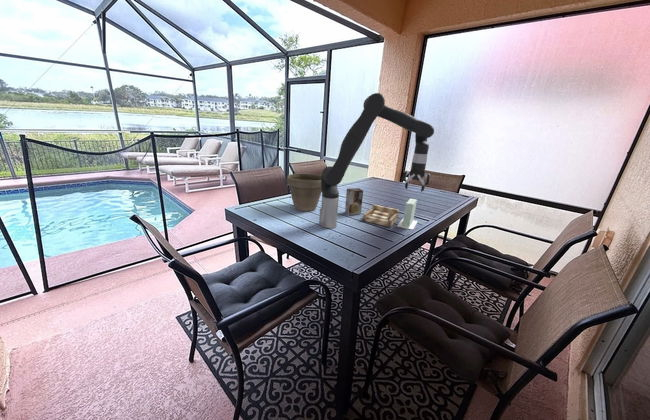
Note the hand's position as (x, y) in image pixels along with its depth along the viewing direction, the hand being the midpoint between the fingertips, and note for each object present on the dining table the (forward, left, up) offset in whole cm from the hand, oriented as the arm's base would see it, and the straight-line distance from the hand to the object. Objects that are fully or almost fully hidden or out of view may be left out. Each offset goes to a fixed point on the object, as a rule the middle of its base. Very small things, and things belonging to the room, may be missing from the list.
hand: (413, 190), depth 145 cm
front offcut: (-16, -7, -21) cm, 28 cm away
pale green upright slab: (0, 0, -21) cm, 21 cm away
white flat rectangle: (0, 0, -21) cm, 21 cm away
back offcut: (-16, -4, -21) cm, 27 cm away
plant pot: (-65, -14, -21) cm, 70 cm away
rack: (-16, -3, -21) cm, 27 cm away
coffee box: (-35, -3, -22) cm, 41 cm away
